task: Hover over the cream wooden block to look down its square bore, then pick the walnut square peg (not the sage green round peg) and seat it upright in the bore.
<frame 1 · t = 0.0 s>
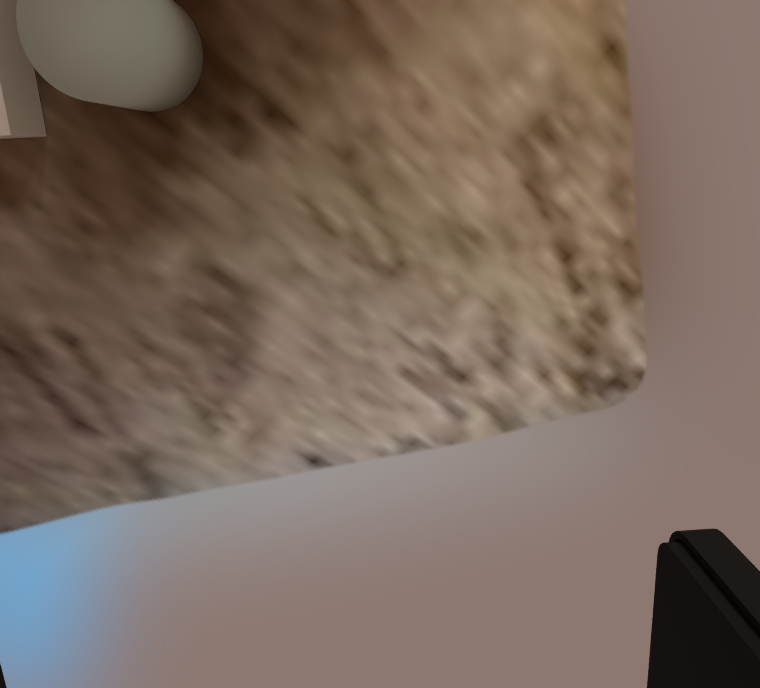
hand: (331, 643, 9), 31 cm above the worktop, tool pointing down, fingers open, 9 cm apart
sage round peg: (146, 52, 36), on the worktop
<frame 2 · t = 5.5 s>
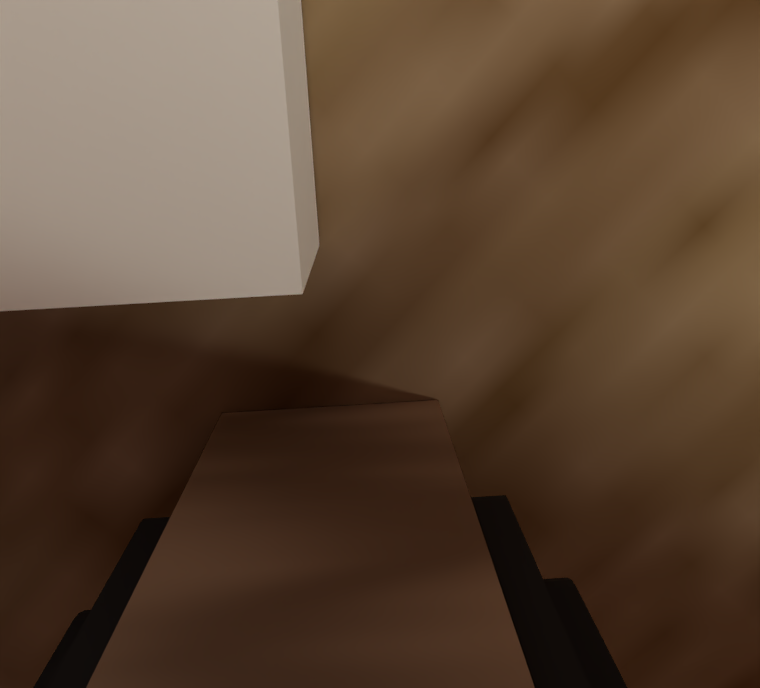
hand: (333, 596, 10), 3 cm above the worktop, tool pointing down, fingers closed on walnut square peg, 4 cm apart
walnut square peg: (337, 502, 13), on the worktop, touching gripper
when the fingers open (5 cm above the worktop, at t = 11.7 s): walnut square peg drops 2 cm, resting on cream socket block.
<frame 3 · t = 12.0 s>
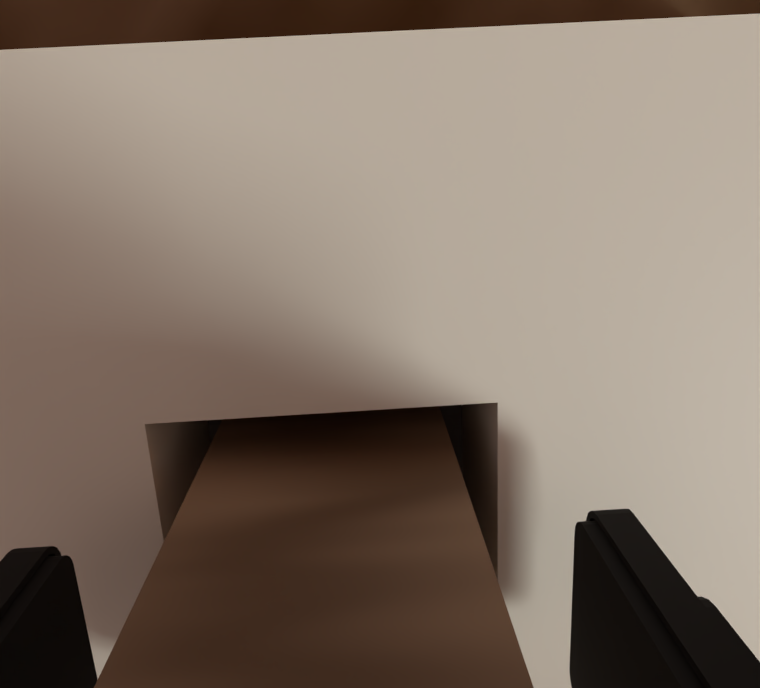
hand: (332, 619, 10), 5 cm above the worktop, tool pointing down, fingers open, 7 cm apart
cream socket block: (339, 457, 15), on the worktop
walnut square peg: (340, 467, 15), resting on cream socket block
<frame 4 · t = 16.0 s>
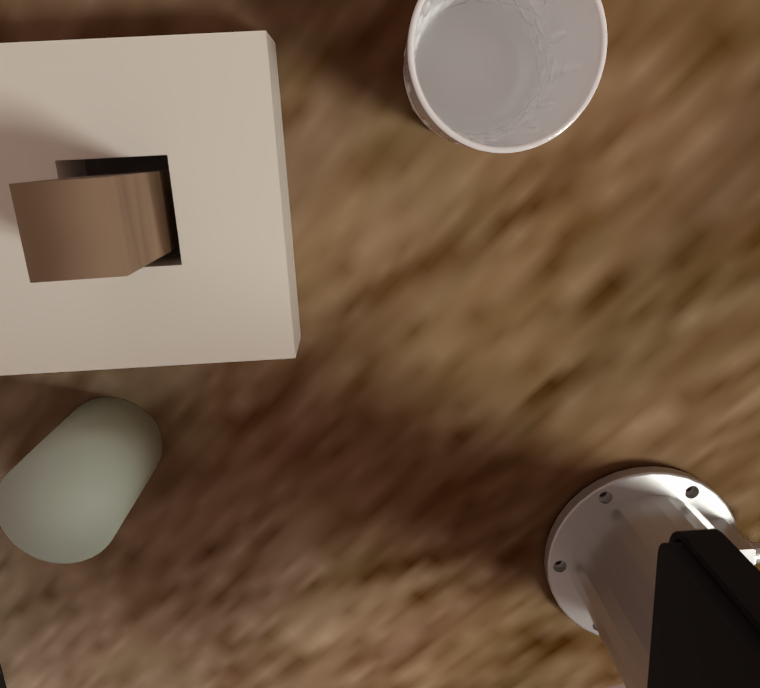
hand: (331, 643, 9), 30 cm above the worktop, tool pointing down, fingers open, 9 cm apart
cream socket block: (144, 207, 37), on the worktop
sage round peg: (112, 443, 41), on the worktop
white cup: (465, 75, 36), on the worktop
walnut square peg: (143, 209, 37), resting on cream socket block
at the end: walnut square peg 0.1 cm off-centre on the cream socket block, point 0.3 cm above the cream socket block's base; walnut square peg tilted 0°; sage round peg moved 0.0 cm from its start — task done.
